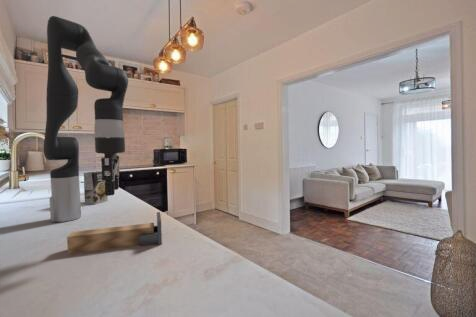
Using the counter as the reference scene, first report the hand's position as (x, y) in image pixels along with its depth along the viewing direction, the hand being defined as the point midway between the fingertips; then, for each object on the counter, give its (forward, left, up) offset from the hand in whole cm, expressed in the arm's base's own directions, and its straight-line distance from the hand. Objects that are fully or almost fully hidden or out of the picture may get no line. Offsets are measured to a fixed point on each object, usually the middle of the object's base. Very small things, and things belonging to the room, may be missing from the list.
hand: (112, 192), depth 67 cm
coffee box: (-17, +64, -16) cm, 68 cm away
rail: (0, 0, -16) cm, 16 cm away
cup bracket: (+10, 0, -16) cm, 18 cm away
